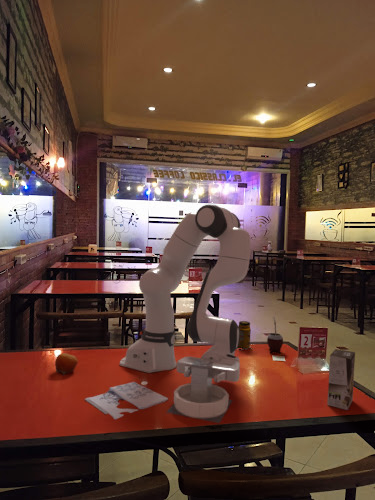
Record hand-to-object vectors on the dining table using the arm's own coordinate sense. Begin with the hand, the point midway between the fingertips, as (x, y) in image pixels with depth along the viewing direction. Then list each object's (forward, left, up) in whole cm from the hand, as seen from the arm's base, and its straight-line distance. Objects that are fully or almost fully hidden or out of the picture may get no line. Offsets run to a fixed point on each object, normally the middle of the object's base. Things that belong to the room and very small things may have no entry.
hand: (201, 377), depth 117 cm
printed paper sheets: (-23, -4, -11) cm, 26 cm away
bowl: (0, +1, -9) cm, 9 cm away
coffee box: (+40, +23, -10) cm, 47 cm away
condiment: (-2, +70, -10) cm, 71 cm away
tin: (0, +1, -8) cm, 8 cm away
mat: (0, +1, -10) cm, 10 cm away
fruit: (-55, +9, -10) cm, 57 cm away
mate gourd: (+13, +70, -10) cm, 72 cm away
